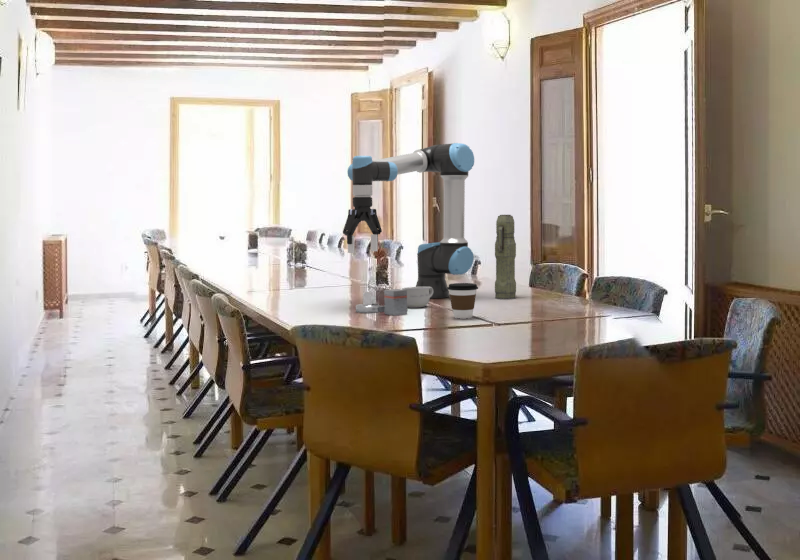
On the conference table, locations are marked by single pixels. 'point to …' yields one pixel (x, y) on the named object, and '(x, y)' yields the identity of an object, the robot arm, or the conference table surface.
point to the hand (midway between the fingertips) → (362, 252)
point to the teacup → (418, 296)
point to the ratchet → (369, 305)
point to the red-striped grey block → (395, 302)
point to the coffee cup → (462, 299)
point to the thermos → (505, 258)
